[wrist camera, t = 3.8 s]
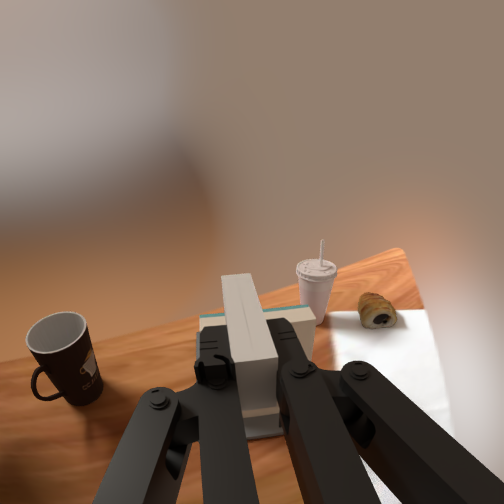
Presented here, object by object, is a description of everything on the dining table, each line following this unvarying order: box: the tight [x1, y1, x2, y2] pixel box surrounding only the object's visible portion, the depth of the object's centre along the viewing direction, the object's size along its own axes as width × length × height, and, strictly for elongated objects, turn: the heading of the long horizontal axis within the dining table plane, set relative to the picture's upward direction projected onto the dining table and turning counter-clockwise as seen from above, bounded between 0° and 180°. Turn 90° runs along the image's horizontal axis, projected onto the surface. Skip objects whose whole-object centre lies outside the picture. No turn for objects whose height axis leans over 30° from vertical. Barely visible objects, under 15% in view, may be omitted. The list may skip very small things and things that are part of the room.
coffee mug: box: [26, 312, 103, 406], centre depth 28 cm, size 12×9×10 cm
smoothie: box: [296, 239, 337, 325], centre depth 45 cm, size 6×6×14 cm
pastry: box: [358, 292, 397, 329], centre depth 47 cm, size 9×7×4 cm
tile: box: [200, 304, 316, 418], centre depth 27 cm, size 10×2×13 cm, turn 99°
